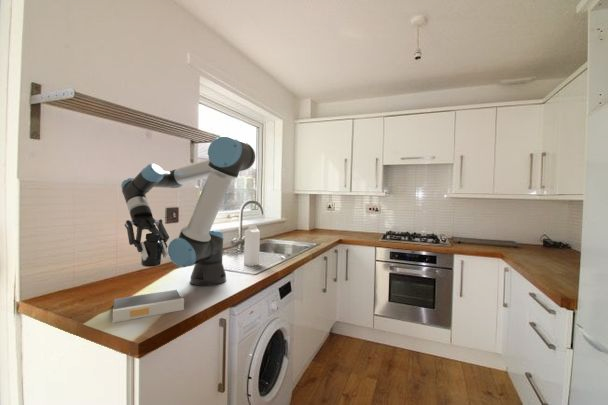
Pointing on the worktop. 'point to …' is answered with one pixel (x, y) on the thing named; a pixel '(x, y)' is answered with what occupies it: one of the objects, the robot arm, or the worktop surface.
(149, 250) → the supplement bottle
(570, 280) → the worktop surface
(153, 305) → the open storage tray
